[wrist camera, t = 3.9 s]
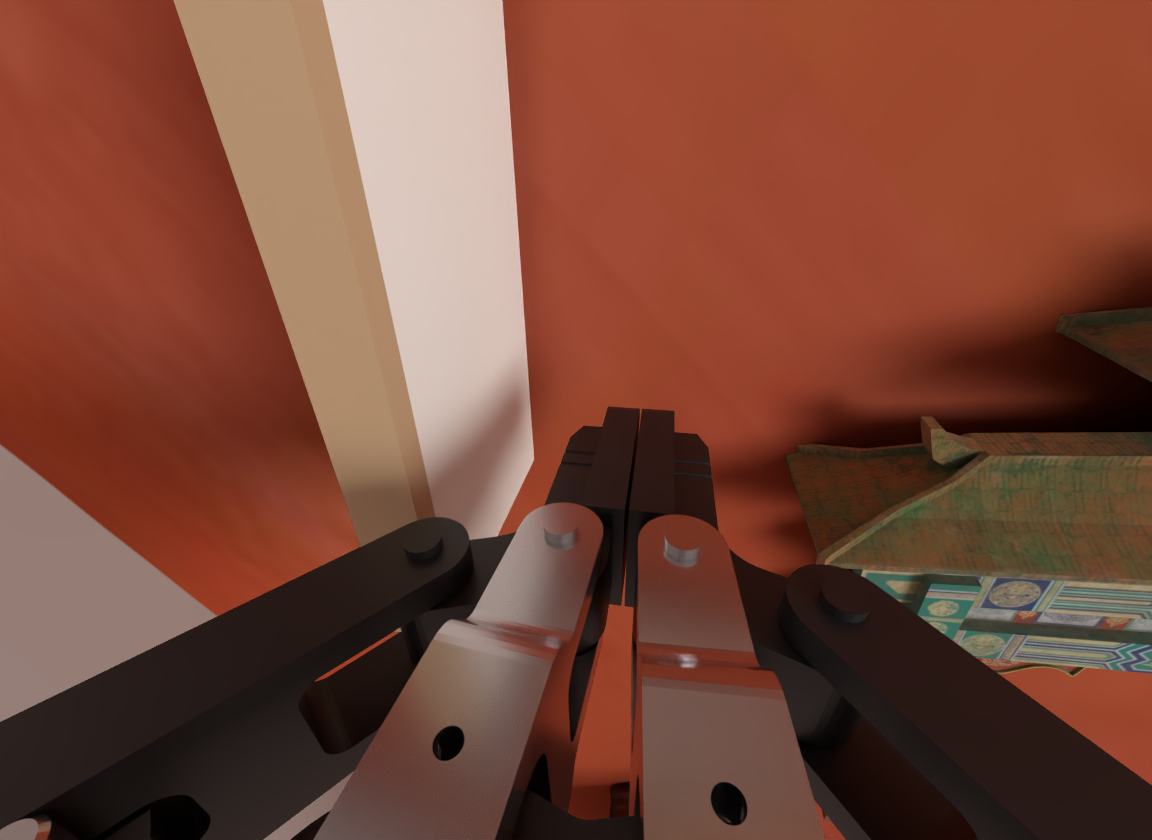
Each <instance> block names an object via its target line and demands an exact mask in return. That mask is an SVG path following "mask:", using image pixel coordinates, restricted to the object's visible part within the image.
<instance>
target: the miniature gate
mask: <svg viewBox="0 0 1152 840" xmlns="http://www.w3.org/2000/svg"><path fill="white" fill-rule="evenodd" d="M1055 332H1059V333H1062V334H1064V335H1066V336H1068V337H1070V338H1071V339H1073V340H1075V341H1077V342H1079V343H1081V344H1082V345H1084V346H1086V347H1088V348H1090V349H1092V350H1093V351H1095V352H1097V353H1099V354H1101V355H1103V356H1105V357H1106V358H1108V359H1110V360H1112V361H1114V362H1116V363H1117V364H1119V365H1121V366H1123V367H1125V368H1127V369H1129V370H1130V371H1132V372H1134V373H1136V374H1138V375H1140V376H1141V377H1143V378H1145V379H1147V380H1149V381H1151V382H1152V307H1148V308H1135V309H1122V310H1109V311H1095V312H1082V313H1073V314H1061V315H1060V318H1059V321H1058V324H1057V327H1056V329H1055ZM920 419H921V435H922V443H917V444H907V445H896V446H886V447H876V448H865V449H863V448H853V447H842V446H832V445H822V444H811V443H808V444H801V445H797V452H796V453H792V454H787V455H786V462H787V465H788V468H789V471H790V474H791V477H792V480H793V483H794V486H795V489H796V492H797V495H798V498H799V501H800V504H801V507H802V510H803V513H804V516H805V519H806V522H807V525H808V528H809V531H810V534H811V537H812V540H813V543H814V546H815V549H816V552H817V559H816V563H815V564H824V565H832V566H837V567H841V568H846V569H852V570H853V572H855V573H857V574H859V575H861V576H863V577H865V578H867V579H868V580H870V581H871V582H873V583H874V584H876V585H877V586H878V587H880V588H881V589H883V590H884V591H885V592H887V593H888V594H889V595H891V596H892V597H894V598H895V599H896V600H898V601H899V602H900V603H902V604H903V605H904V606H906V607H907V608H909V609H910V610H911V611H913V612H914V613H915V614H917V615H918V616H920V617H921V618H922V619H924V620H925V621H926V622H928V623H929V624H931V625H932V626H933V627H935V628H936V629H937V630H939V631H940V632H942V633H943V634H944V635H946V636H947V637H948V638H950V639H951V640H953V641H954V642H955V643H957V644H958V645H959V646H961V647H962V648H964V649H965V650H966V651H968V652H969V653H970V654H972V655H973V656H975V657H976V658H977V659H979V660H980V661H981V662H983V663H984V664H986V665H987V666H988V667H990V668H991V669H992V670H994V671H995V672H997V673H998V674H1004V673H1011V672H1015V671H1020V670H1024V669H1030V668H1041V667H1044V668H1053V669H1057V670H1060V671H1062V672H1064V673H1066V674H1067V675H1069V676H1071V677H1073V676H1076V675H1077V674H1079V673H1080V672H1081V671H1083V670H1084V669H1085V668H1097V669H1108V670H1119V671H1130V672H1141V673H1152V432H1067V433H967V434H962V435H955V434H952V433H949V432H946V431H945V430H944V429H943V428H942V427H941V426H940V424H939V423H938V422H937V421H936V420H935V419H934V418H933V417H932V416H920ZM822 812H823V817H824V820H829V821H831V820H830V819H829V817H828V816H827V815H826V814H825V812H824V811H823V810H822Z"/></svg>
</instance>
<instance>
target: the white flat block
mask: <svg viewBox="0 0 1152 840" xmlns="http://www.w3.org/2000/svg"><path fill="white" fill-rule="evenodd" d="M174 3H175V6H176V9H177V12H178V15H179V18H180V21H181V24H182V27H183V29H184V32H185V35H186V38H187V41H188V44H189V47H190V50H191V53H192V56H193V59H194V62H195V65H196V67H197V70H198V73H199V76H200V79H201V82H202V85H203V88H204V91H205V94H206V97H207V100H208V102H209V105H210V108H211V111H212V114H213V117H214V120H215V123H216V126H217V129H218V132H219V135H220V138H221V140H222V143H223V146H224V149H225V152H226V155H227V158H228V161H229V164H230V167H231V170H232V173H233V175H234V178H235V181H236V184H237V187H238V190H239V193H240V196H241V199H242V202H243V205H244V208H245V211H246V213H247V216H248V219H249V222H250V225H251V228H252V231H253V234H254V237H255V240H256V243H257V246H258V249H259V251H260V254H261V257H262V260H263V263H264V266H265V269H266V272H267V275H268V278H269V281H270V284H271V286H272V289H273V292H274V295H275V298H276V301H277V304H278V307H279V310H280V313H281V316H282V319H283V322H284V324H285V327H286V330H287V333H288V336H289V339H290V342H291V345H292V348H293V351H294V354H295V357H296V359H297V362H298V365H299V368H300V371H301V374H302V377H303V380H304V383H305V386H306V389H307V392H308V395H309V397H310V400H311V403H312V406H313V409H314V412H315V415H316V418H317V421H318V424H319V427H320V430H321V432H322V435H323V438H324V441H325V444H326V447H327V450H328V453H329V456H330V459H331V462H332V465H333V468H334V470H335V473H336V476H337V479H338V482H339V485H340V488H341V491H342V494H343V497H344V500H345V503H346V506H347V508H348V511H349V514H350V517H351V520H352V523H353V526H354V529H355V532H356V535H357V538H358V541H359V543H360V546H361V547H362V546H364V545H366V544H368V543H370V542H372V541H374V540H376V539H378V538H380V537H382V536H384V535H386V534H388V533H390V532H392V531H394V530H396V529H399V528H401V527H403V526H405V525H407V524H409V523H412V522H414V521H417V520H420V519H425V518H432V517H444V518H449V519H452V520H455V521H457V522H459V523H460V524H462V525H463V526H464V527H465V529H466V530H467V532H468V535H469V539H470V540H473V539H481V538H489V537H496V536H498V534H499V531H500V529H501V527H502V525H503V523H504V521H505V519H506V517H507V515H508V513H509V511H510V509H511V506H512V504H513V502H514V500H515V498H516V496H517V494H518V492H519V490H520V488H521V486H522V484H523V482H524V479H525V477H526V475H527V473H528V471H529V469H530V467H531V465H532V463H533V461H534V451H533V437H532V422H531V408H530V394H529V379H528V365H527V350H526V336H525V321H524V307H523V292H522V278H521V263H520V249H519V234H518V220H517V205H516V191H515V177H514V162H513V148H512V133H511V119H510V104H509V90H508V75H507V61H506V46H505V32H504V17H503V3H502V0H174ZM395 631H397V632H401V629H400V628H399V629H397V630H395Z"/></svg>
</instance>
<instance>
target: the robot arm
mask: <svg viewBox="0 0 1152 840" xmlns="http://www.w3.org/2000/svg"><path fill="white" fill-rule="evenodd" d="M639 418H640V409H637V408H622V407H608V409H607V412H606V416H605V420H604V423H603V427H595V426H583V427H582V428H581V429H580V430H578V431H577V432H576V433H575V434H573V435H572V436H571V437H570V440H569V443H568V445H567V448H566V452H565V453H564V456H563V458H562V461H561V465H560V466H559V469H558V471H557V474H556V477H555V479H554V482H553V484H552V487H551V490H550V492H549V495H548V497H547V500H546V503H545V505H544V506H542V507H539V508H537V509H536V510H534V511H532V512H531V513H530V514H528V515H527V516H526V517H525V518H524V520H523V521H522V523H521V525H520V526H519V528H518V530H517V531H516V532H514V533H511V534H507V535H502V536H496V537H489V538H481V539H473V540H470V539H469V535H468V532H467V530H466V529H465V527H464V526H463V525H462V524H460V523H459V522H457V521H455V520H452V519H449V518H444V517H432V518H425V519H420V520H417V521H414V522H412V523H409V524H407V525H405V526H403V527H401V528H399V529H396V530H394V531H392V532H390V533H388V534H386V535H384V536H382V537H380V538H378V539H376V540H374V541H372V542H370V543H368V544H366V545H364V546H362V547H359V548H357V549H355V550H353V551H351V552H349V553H347V554H345V555H343V556H341V557H339V558H337V559H335V560H333V561H331V562H329V563H327V564H324V565H322V566H320V567H318V568H316V569H314V570H312V571H310V572H308V573H306V574H304V575H302V576H300V577H298V578H296V579H294V580H292V581H289V582H287V583H285V584H283V585H281V586H279V587H277V588H275V589H273V590H271V591H269V592H267V593H265V594H263V595H261V596H259V597H257V598H255V599H252V600H250V601H248V602H246V603H244V604H242V605H240V606H238V607H236V608H234V609H232V610H230V611H228V612H226V613H224V614H222V615H220V616H217V617H215V618H213V619H211V620H209V621H207V622H205V623H203V624H201V625H199V626H197V627H195V628H193V629H191V630H189V631H187V632H185V633H183V634H181V635H179V636H176V637H174V638H172V639H170V640H168V641H166V642H164V643H162V644H160V645H158V646H156V647H154V648H152V649H150V650H148V651H146V652H144V653H142V654H140V655H137V656H135V657H133V658H131V659H129V660H127V661H125V662H123V663H121V664H119V665H117V666H115V667H113V668H111V669H109V670H107V671H104V672H102V673H100V674H98V675H96V676H94V677H92V678H90V679H88V680H86V681H84V682H82V683H80V684H78V685H76V686H73V687H71V688H70V689H67V690H65V691H64V692H61V693H59V694H57V695H55V696H53V697H51V698H49V699H47V700H45V701H43V702H41V703H39V704H37V705H34V706H32V707H30V708H28V709H26V710H24V711H23V712H20V713H18V714H16V715H14V716H12V717H10V718H8V719H6V720H4V721H2V722H0V840H263V839H264V838H266V837H267V836H268V835H270V834H271V833H272V832H274V831H275V830H276V829H278V828H279V827H280V826H282V825H283V824H284V823H286V822H287V821H288V820H290V819H291V818H292V817H294V816H295V815H296V814H298V813H299V812H300V811H301V810H303V809H304V808H305V807H307V806H308V805H309V804H311V803H312V802H313V801H315V800H316V799H317V798H319V797H320V796H321V795H323V794H324V793H325V792H327V791H328V790H329V789H331V788H332V787H333V786H334V785H336V784H337V783H338V782H340V781H341V780H342V779H344V778H345V777H346V776H348V775H349V774H350V773H351V772H353V771H354V770H355V771H354V773H353V774H352V776H351V777H350V779H349V781H348V782H347V784H346V786H345V787H344V789H343V791H342V793H341V794H340V796H339V798H338V799H337V801H336V803H335V804H334V806H333V808H332V809H331V811H329V812H327V813H326V814H324V815H323V816H321V817H320V818H318V819H317V820H315V821H314V822H313V823H311V824H310V825H309V826H307V827H306V828H305V829H303V830H302V831H301V832H299V833H298V834H297V835H296V836H294V837H293V838H292V839H291V840H825V837H824V833H823V830H822V826H821V822H820V819H819V815H818V812H817V808H816V805H815V801H816V802H817V804H818V805H819V806H820V807H821V809H822V810H823V811H824V812H825V814H826V815H827V816H828V817H829V819H830V820H831V821H832V822H833V824H834V825H835V826H836V827H837V829H838V830H839V831H840V832H841V834H842V835H843V836H844V837H845V839H846V840H1152V785H1150V784H1149V783H1148V782H1146V781H1145V780H1143V779H1142V778H1141V777H1139V776H1138V775H1137V774H1135V773H1134V772H1132V771H1131V770H1130V769H1128V768H1127V767H1126V766H1124V765H1123V764H1121V763H1120V762H1119V761H1117V760H1116V759H1115V758H1113V757H1112V756H1111V755H1109V754H1108V753H1106V752H1105V751H1104V750H1102V749H1101V748H1100V747H1098V746H1097V745H1095V744H1094V743H1093V742H1091V741H1090V740H1089V739H1087V738H1086V737H1084V736H1083V735H1082V734H1080V733H1079V732H1078V731H1076V730H1075V729H1073V728H1072V727H1071V726H1069V725H1068V724H1067V723H1065V722H1064V721H1062V720H1061V719H1060V718H1058V717H1057V716H1056V715H1054V714H1053V713H1051V712H1050V711H1049V710H1047V709H1046V708H1045V707H1043V706H1042V705H1040V704H1039V703H1038V702H1036V701H1035V700H1034V699H1032V698H1031V697H1029V696H1028V695H1027V694H1025V693H1024V692H1023V691H1021V690H1020V689H1018V688H1017V687H1016V686H1014V685H1013V684H1012V683H1010V682H1009V681H1007V680H1006V679H1005V678H1003V677H1002V676H1001V675H999V674H998V673H997V672H995V671H994V670H992V669H991V668H990V667H988V666H987V665H986V664H984V663H983V662H981V661H980V660H979V659H977V658H976V657H975V656H973V655H972V654H970V653H969V652H968V651H966V650H965V649H964V648H962V647H961V646H959V645H958V644H957V643H955V642H954V641H953V640H951V639H950V638H948V637H947V636H946V635H944V634H943V633H942V632H940V631H939V630H937V629H936V628H935V627H933V626H932V625H931V624H929V623H928V622H926V621H925V620H924V619H922V618H921V617H920V616H918V615H917V614H915V613H914V612H913V611H911V610H910V609H909V608H907V607H906V606H904V605H903V604H902V603H900V602H899V601H898V600H896V599H895V598H894V597H892V596H891V595H889V594H888V593H887V592H885V591H884V590H883V589H881V588H880V587H878V586H877V585H876V584H874V583H873V582H871V581H870V580H868V579H867V578H865V577H863V576H861V575H859V574H857V573H855V572H852V571H850V570H847V569H844V568H841V567H837V566H832V565H824V564H814V565H808V566H804V567H801V568H799V569H797V570H796V571H795V572H793V573H792V575H791V576H790V577H789V579H788V578H785V577H783V576H780V575H777V574H774V573H772V572H769V571H766V570H764V569H761V568H759V567H756V566H754V565H752V564H750V563H748V562H746V561H744V560H743V559H741V558H740V557H739V556H737V555H736V554H735V553H734V552H732V551H731V550H730V549H729V547H728V545H727V542H726V540H725V539H724V537H723V536H722V534H721V533H720V532H719V530H718V524H717V516H716V508H715V500H714V492H713V483H712V478H711V467H710V459H709V451H708V447H707V446H706V444H705V443H704V442H703V441H702V440H701V439H700V437H699V436H698V435H697V434H689V433H676V432H674V411H668V410H653V409H642V415H641V422H640V430H639ZM626 560H627V564H626ZM625 569H626V587H625V606H629V607H634V613H633V631H632V646H631V756H630V795H629V816H627V817H618V818H608V819H598V820H582V819H578V818H576V817H574V816H572V815H570V814H568V813H567V812H568V807H569V801H570V795H571V789H572V781H573V772H574V764H575V758H576V753H577V748H578V744H579V739H580V735H581V731H582V727H583V722H584V718H585V714H586V710H587V705H588V701H589V697H590V693H591V688H592V684H593V680H594V676H595V671H596V667H597V663H598V659H599V654H600V650H601V646H602V634H603V632H604V630H605V626H606V620H607V614H608V607H609V604H613V605H620V606H621V602H622V593H623V585H624V577H625ZM399 628H400V629H401V632H400V633H398V634H396V635H395V636H393V637H392V638H390V639H388V640H387V641H385V642H383V643H382V644H380V645H379V646H377V647H375V648H374V649H372V650H371V651H369V652H367V653H366V654H364V655H363V656H361V657H359V658H358V659H356V660H355V661H353V662H351V663H350V664H348V665H347V666H345V667H343V668H342V669H340V670H338V671H337V672H335V673H334V674H332V675H330V676H329V677H327V678H325V679H322V680H320V681H316V682H314V681H315V680H316V679H318V678H319V677H321V676H322V675H324V674H326V673H327V672H329V671H330V670H332V669H334V668H335V667H337V666H339V665H340V664H342V663H343V662H345V661H347V660H348V659H350V658H352V657H353V656H355V655H356V654H358V653H360V652H361V651H363V650H365V649H366V648H368V647H369V646H371V645H373V644H374V643H376V642H378V641H379V640H381V639H382V638H384V637H386V636H387V635H389V634H391V633H392V632H394V631H395V630H397V629H399ZM814 800H815V801H814Z"/></svg>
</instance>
